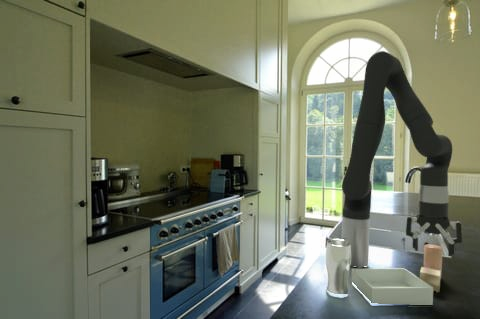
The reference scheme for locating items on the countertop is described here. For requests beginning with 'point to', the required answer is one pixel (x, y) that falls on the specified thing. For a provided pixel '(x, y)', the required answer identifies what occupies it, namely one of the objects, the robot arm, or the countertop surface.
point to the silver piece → (338, 265)
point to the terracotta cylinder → (433, 257)
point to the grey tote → (392, 286)
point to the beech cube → (431, 277)
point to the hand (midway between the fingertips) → (432, 252)
